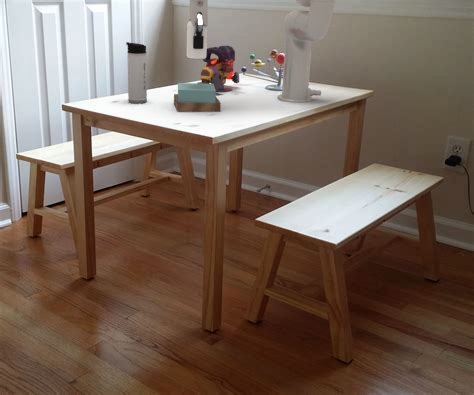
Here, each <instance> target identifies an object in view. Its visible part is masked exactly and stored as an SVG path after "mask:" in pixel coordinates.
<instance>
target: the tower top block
mask: <svg viewBox="0 0 474 395" xmlns="http://www.w3.org/2000/svg"><path fill="white" fill-rule="evenodd" d="M216 93H217V92H216V90H215V87H214V84H211V83H209V84H200V83H198V82H195V83H193V82H190V83H189V82H188V83H187V82H178V83H177V94H178V102H194V103H215V99H216V97H217V95H216Z"/></svg>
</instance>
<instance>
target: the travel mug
mask: <svg viewBox="0 0 474 395" xmlns="http://www.w3.org/2000/svg"><path fill="white" fill-rule="evenodd" d="M125 45H126V46H127V92H128V93H127V94H128V96H127V98H128V102H129V103H130V104H137V105H138V104H139V105H140V104H146V103H147V102H148V99H147V97H148V94H147V90H148V88H147V87H148V86H147V85H148V84H147V82H148V81H147V79H148V78H147V45H145V44H143V43H135V42H130V41H129V42H127V41H126V42H125Z"/></svg>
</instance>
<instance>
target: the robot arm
mask: <svg viewBox="0 0 474 395" xmlns="http://www.w3.org/2000/svg"><path fill="white" fill-rule="evenodd" d="M336 1H337V0H295V2H296V3H297V4H298V5H299V6H301V7H305V8H309V9H308V10H303V9H295V10H292V11H291V12H289V13H288V14H287V15H286V16H285V18H284V21H283V34H284V56H283V71H282V85H281V88H282V89H281V93H280V94H278V95H277V97H276V98H277V100H278V101H280V102H285V103H290V104H291V103H292V104H294V103H295V104H304V103H305V104H306V103H311V102H312V101H313V98H312V97H313V96H315V97H319V96H321V95H322V91H321V90H316V89H311V88H310V87H309V86H310V74H311V73H310V72H311V61H312V45H311V42H319V41H321V40H322V39H324V38H325V36H326V35H327V33H328V31H329V28H330V25H331V21H332V18H333V14H334V9H335V4H336ZM208 7H209V6H208V0H189V9H188V10H189V19H190V20H191V23H192V26H193V27H194V36H193V48H194V49H203V42H204V36H203V25H206V26H205V27H207V28H208V25H209V24H208V23H209V21H208V19H209V18H208V16H209V15H208V12H209V11H208V10H209V9H208ZM203 23H204V24H203ZM196 24H198V26H196ZM196 28H197V29H196Z"/></svg>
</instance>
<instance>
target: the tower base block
mask: <svg viewBox="0 0 474 395" xmlns="http://www.w3.org/2000/svg"><path fill="white" fill-rule="evenodd" d="M221 104H222V103H221V102H220V100H219V99H218V97H217V96H216V99H215V103H194V102H178V93H174V94H173V105H174V107H175V109H176V112H177V113H221V108H222V105H221Z"/></svg>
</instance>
